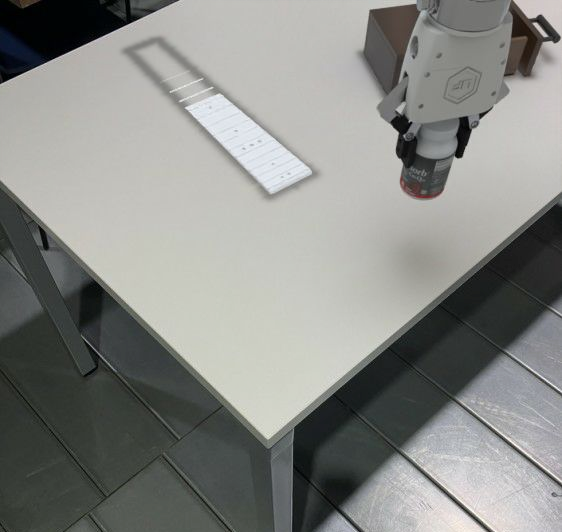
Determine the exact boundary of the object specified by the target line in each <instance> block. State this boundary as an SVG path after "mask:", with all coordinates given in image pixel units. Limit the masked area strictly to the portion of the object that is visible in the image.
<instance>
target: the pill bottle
mask: <svg viewBox="0 0 562 532" xmlns="http://www.w3.org/2000/svg"><path fill="white" fill-rule="evenodd" d="M458 127H459V118H453V119H447V120H442V121H436V122H430V123H423V124H422V125H421V126H420V128H419V130H418V131H417V133H416V135H415V136H416V138H417V140H418V143H417V148H416V152H415V156H414V161H413V165H412V166H411V168H405V166H404V164H403V163H402V167H401V171H400V176H399V187H400V189H401V191H402V192H403V193H404V194H405V195H406V196H407V197H409V198H411V199H413V200H417V201H425V202H427V201H431V200H434V199H437V198H438V197H439V196H441V195H442V194H443V193H444V191H445V189H446V184H447V181H448V178H449V175H450V171H451V169H452V165H453V163H454V158H455V156H454V155H455V152H456V149H457V144H458V140H457V136H456V133H457V131H458Z"/></svg>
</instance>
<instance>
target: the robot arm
mask: <svg viewBox="0 0 562 532" xmlns="http://www.w3.org/2000/svg"><path fill="white" fill-rule="evenodd" d="M510 2H511V0H416V3H415V4H417V9H418V10H419V11H421V13H420V15H419V17H418V20H417V22H416V25H415V27H414V30H413V32H412V35H411V38H410V41H409V44H408V47H407V51H406V54H405V58H404V61H403V65H402V69H401V74H400V78H399V84H398V85H397V86H396V87H395V88H394V89H393V90H392V91H391V92H390V93H389V94H388V95H387V94H386V96H385V97H384V98H383V99H382V100H381V101H380V102H379V103H377V106H376V107H375V108H376V109H375V110H376V111H377V113H378V115H379V117H380V118H381V119H382V120H384V121H385V122H386V123H388V124H389V125H390V126H392V128H393V129H394V130H395V131H396V132H397V133H398V135H397V139H396V144H395V155H396V158H397V159H399V160H400V161H401V162H402V165H403V164H404V166H405V168H411V166H412V165H413V161H414V156H415V152H416V148H417V143H418V140H417V138H416V136H415V135H416V133H417V131H418V130H419V128H420V126H421V125H422V124H423V123H430V122H436V121H442V120H447V119H453V118H459V127H458V131H457V133H456V136H457V140H458V144H457V149H456V152H455V155H454V158H455V159H457V160H459V159H463V158H464V153H465V152H466V148H467V146H468V145H469V141H470V138H471V135H472V132H473V130H474V129H476V128H478V127H479V125H480V123H481V122H480V121H481V119H483V118H484V117H485V116H486V115H487V114H489V113H490V112H492V110H493V108H494V105H497V104H498V103H499V102H501V101H502V100H503V99H505V98H506V97H507V96H508V95H509V93H510V91H511V90H510V88H509V87H508V85H507V84H506V82H505V81H504V76H505V75H504V72H505V67H506V63H507V58H508V54H509V48H510V41H511V33H512V21H513V17H512V14H511V13H510V12H509V11H508V8H509V5H510ZM403 103H405V105H404V107H403V109H402V110H401V112H399V111H398V110H397V109H398V108H399V107H400V106H401V105H402V104H403Z"/></svg>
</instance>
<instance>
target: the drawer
mask: <svg viewBox="0 0 562 532" xmlns="http://www.w3.org/2000/svg"><path fill="white" fill-rule="evenodd" d="M508 11H509V12H510V13H511V14H512V17H513V21H512V33H511V41H510V48H509V54H508V58H507V63H506V67H505V72H504V76H505V75H511V74H516V72H517V70H518V71H519V72H520V74H521V75H522V76H523V77H530V76H531V73H532V71H533V68H534V66H535V63H536V60H537V59H538V56H539V53H540V51H541V49H542V48H541V47H542V45H543V43H547V42H552V43H553V44H557V43H559V42H560V41H561V39H562V36H561V35H560V33H558V31H557V30H556V29H555V28H554V27H553V26H552V24H551V23H550V22H549V21H548V19H546V17H545V16H544V15H543V14H541V13H539V14H538V15H537V16H535V17H531V18H528V16H527V15H526V14H525V13H524V12H523V10H522V9H521V8H520V6H519V5H518V4H517V3H516V2H515V0H511V2H510V5H509V8H508ZM535 23H536V24H537V26H539V28H541V30H542V31H543V32H544V33H545V35H546V36H543V34H542V33H541V32H540V30H539V29H538V28H537V27H536V26H535V25H534V24H535Z"/></svg>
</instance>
